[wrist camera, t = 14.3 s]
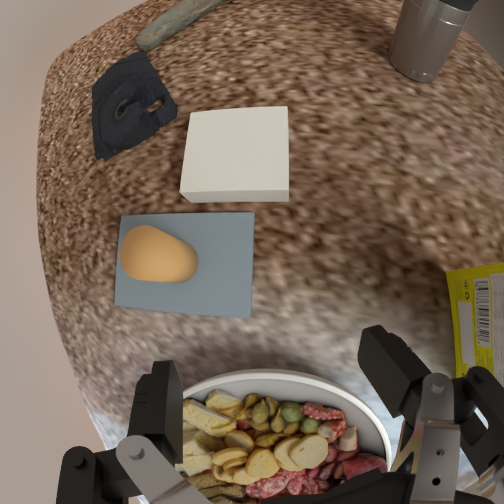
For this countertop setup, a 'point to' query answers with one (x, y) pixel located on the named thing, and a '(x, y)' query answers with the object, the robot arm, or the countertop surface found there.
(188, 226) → the mat
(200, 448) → the bowl
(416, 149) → the countertop surface
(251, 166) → the white square block
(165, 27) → the long grey stone
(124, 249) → the tan rounded cylinder
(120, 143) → the black flat bumpy piece
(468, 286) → the food package
